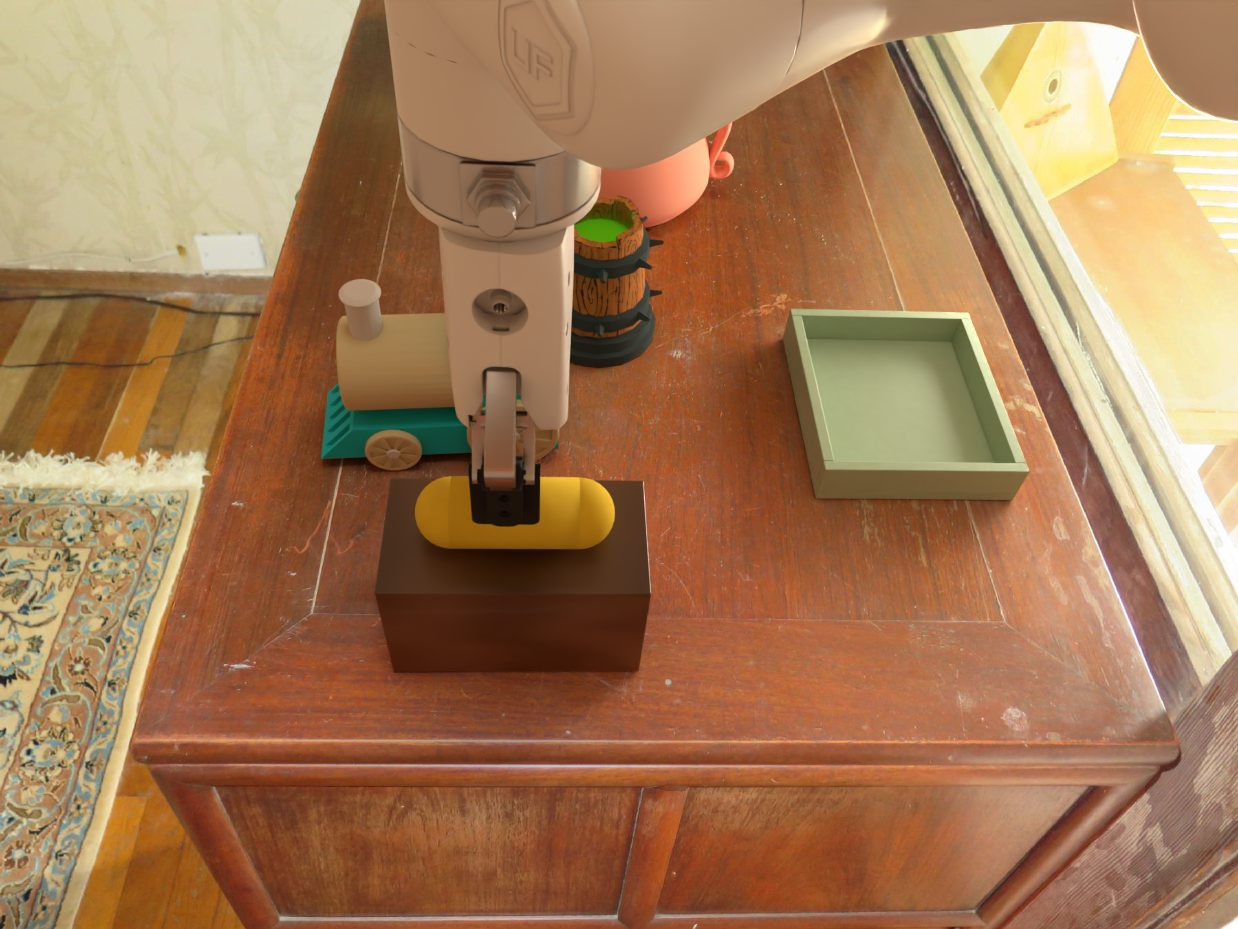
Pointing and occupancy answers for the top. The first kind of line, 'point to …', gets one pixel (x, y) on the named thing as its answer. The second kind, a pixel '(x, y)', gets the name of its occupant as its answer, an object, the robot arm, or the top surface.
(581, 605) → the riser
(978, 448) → the tray
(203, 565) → the top surface
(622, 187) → the teapot
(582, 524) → the yellow capsule toy
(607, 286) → the mug
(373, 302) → the toy train
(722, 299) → the top surface
